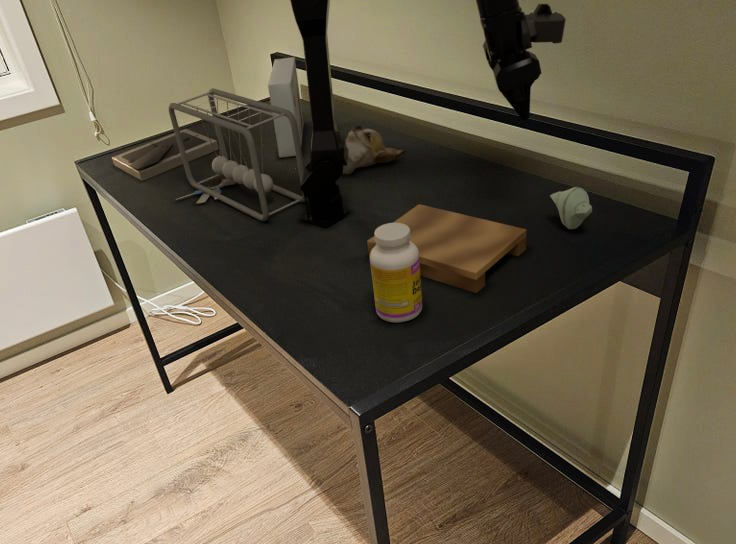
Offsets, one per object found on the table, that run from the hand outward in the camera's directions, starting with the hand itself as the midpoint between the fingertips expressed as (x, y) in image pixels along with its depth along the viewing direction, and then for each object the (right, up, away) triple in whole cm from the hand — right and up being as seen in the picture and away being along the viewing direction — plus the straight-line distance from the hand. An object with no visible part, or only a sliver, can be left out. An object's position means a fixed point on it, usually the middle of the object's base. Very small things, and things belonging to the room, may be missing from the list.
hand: (521, 109), depth 106 cm
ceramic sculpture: (-23, 0, +30) cm, 38 cm away
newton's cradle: (-48, -7, +28) cm, 56 cm away
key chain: (-55, -6, +31) cm, 63 cm away
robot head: (+8, -20, -1) cm, 21 cm away
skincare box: (-39, +11, +49) cm, 63 cm away
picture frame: (-70, +8, +53) cm, 88 cm away
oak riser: (-13, -24, -2) cm, 27 cm away
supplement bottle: (-21, -34, -12) cm, 41 cm away
